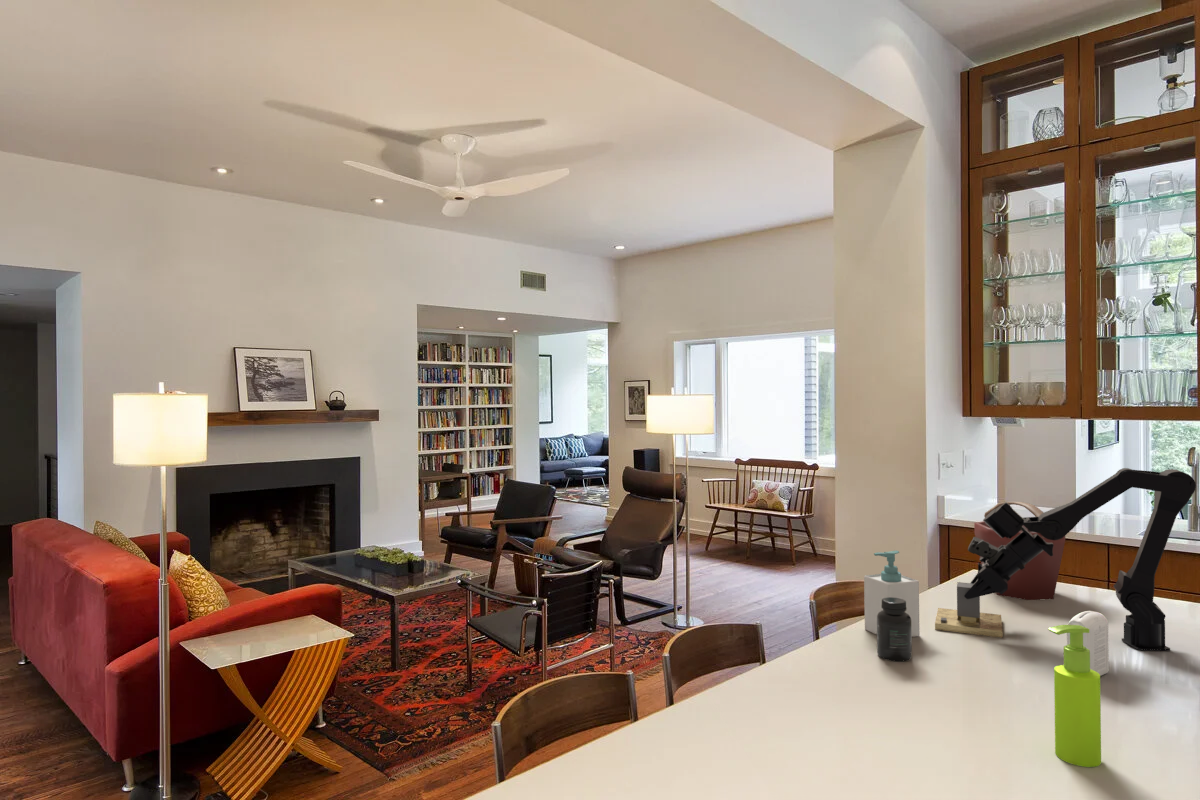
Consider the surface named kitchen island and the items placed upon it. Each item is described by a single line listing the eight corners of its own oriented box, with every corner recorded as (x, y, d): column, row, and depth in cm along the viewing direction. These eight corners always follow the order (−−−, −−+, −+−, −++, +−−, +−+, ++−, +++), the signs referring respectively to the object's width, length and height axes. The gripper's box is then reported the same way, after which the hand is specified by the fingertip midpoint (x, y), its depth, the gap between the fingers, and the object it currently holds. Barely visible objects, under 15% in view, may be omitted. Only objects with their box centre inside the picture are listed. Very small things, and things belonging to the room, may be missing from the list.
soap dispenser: (1040, 749, 114) (1038, 621, 114) (1081, 747, 114) (1080, 619, 114) (1067, 768, 108) (1065, 633, 108) (1111, 766, 109) (1109, 631, 109)
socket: (1001, 620, 179) (1001, 612, 179) (1002, 637, 166) (1002, 628, 166) (938, 613, 185) (938, 605, 185) (935, 629, 173) (934, 620, 173)
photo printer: (1088, 666, 149) (1087, 605, 149) (1112, 672, 145) (1111, 610, 145) (1063, 677, 143) (1063, 614, 143) (1088, 684, 139) (1087, 619, 139)
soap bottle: (863, 629, 174) (862, 549, 174) (894, 625, 176) (893, 546, 176) (888, 640, 165) (887, 556, 165) (920, 636, 168) (919, 553, 168)
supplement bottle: (875, 649, 160) (875, 595, 160) (909, 652, 158) (908, 596, 158) (878, 660, 153) (878, 603, 153) (914, 663, 151) (913, 605, 151)
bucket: (965, 580, 219) (964, 496, 219) (1045, 581, 216) (1044, 497, 216) (998, 603, 194) (997, 509, 194) (1088, 605, 191) (1087, 509, 191)
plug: (980, 621, 177) (979, 583, 177) (980, 626, 173) (979, 588, 173) (958, 618, 179) (957, 581, 179) (957, 624, 175) (956, 586, 175)
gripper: (989, 521, 182) (941, 561, 187) (990, 533, 165) (937, 577, 171) (1026, 555, 178) (976, 595, 183) (1030, 571, 162) (975, 615, 167)
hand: (965, 595), depth 176 cm, fingers closed on plug, 5 cm apart
